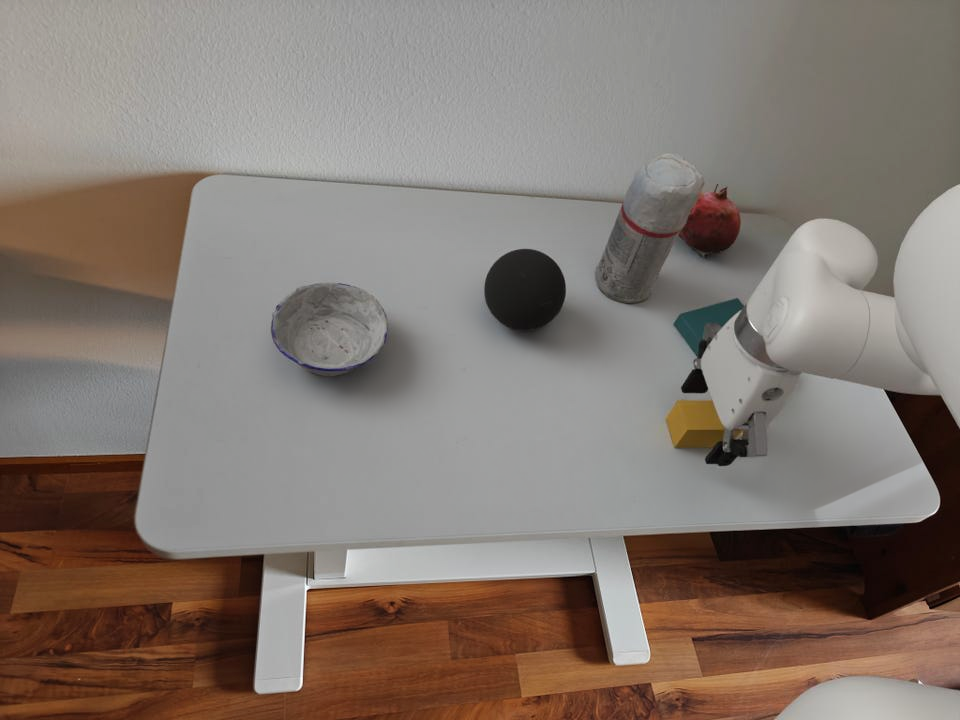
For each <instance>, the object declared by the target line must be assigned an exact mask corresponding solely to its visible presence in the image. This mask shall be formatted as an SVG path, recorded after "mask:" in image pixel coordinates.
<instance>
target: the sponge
mask: <svg viewBox="0 0 960 720" xmlns="http://www.w3.org/2000/svg"><path fill="white" fill-rule="evenodd" d="M665 422H666V425H667V428H668V432H669V436H670V439H671V442H672V445H673V448H674V449H676V448H677V449H679V448H680V449H682V448H685V449H686V448H688V449H689V448H690V449H691V448H713V447H714V446H715V445H716V443H717V442H719V441H723V437H724V429H725V427H724V425H723V424H722V423H721V421H720V419H719V416H718V414H717V411H716V408H715V406H714V403H713V400H712V399H711V400H701V399H700V400H699V399H698V400H688V399H687V400H686V399H685V400H683V399H681V400H677V401H676V402H675V404H674V405H673V406H672V408H671V410H670V412H669V413H668V414H667V416H666V418H665ZM742 433H743V430H735V434H734V439H738V437H739V436H740V434H742Z"/></svg>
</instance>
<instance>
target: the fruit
mask: <svg viewBox="0 0 960 720" xmlns="http://www.w3.org/2000/svg"><path fill="white" fill-rule="evenodd" d="M718 186H719V184H718V183H717V184H716V185H715V187H714V189H713V191H701V193H700V195H699V197H698V199H697V202H696V204H695V206H694V207H693V208H692V209H691V211H690V213H689V215H688V218H687V222H686V224H685V225H684V227H683V228H682V229H681V230H680V233H679V235H678V237H679V238H680V239H681V240H682V241H684V242H685V243H686V244H687V245H688V246H689V247H691V248H692V249H694V250H696V251H697V252H698V253H699V254H700V255H701V256H702V257H703V258H704V259H706V258H707V256H708V255H709V254H719V253H723V252H724V251H727V250H728V249H730V248H731V247H732V246H733V245H734V244H735V242H736V241H737V239H738V236H739V234H740V231H741V226H742V225H741V224H742V220H741V219H742V218H741V215H740V209H739V207H738V205H737V204H736V203H735V202H734V201H732V200H731V199H730V198H728V188H729V187H728V186H726V187H724V188H721V189H720V190H718V191H717V189H718Z"/></svg>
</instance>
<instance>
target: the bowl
mask: <svg viewBox="0 0 960 720" xmlns="http://www.w3.org/2000/svg"><path fill="white" fill-rule="evenodd" d="M271 316H272V318H271V319H272V320H271V325H270V333H271V338H272V341H273V344H274V345H275V347H276V348H277V350H278V351H279V352H280V353H281V354H282V355H284V356H285V357H286V358H287V359H289V360H290V361H292V362H293V363H295V364H297V365H299V366H300V367H302V368H303V369H305V370H307V371H309V372H311V373H313V374H316V375H318V376H324V377H335V376H336V377H337V376H341V375H345V374H347V373H350V372H351V371H354V370H355V369H356V368H358V367H360V366H362V365H365V364H366V363H368V362H370V361H371V360H372V359H373V358H375V357H377V356H378V354H379V353H380V351H381V350H382V349H383V347H384V346H385V345H386V342H387V337H388V333H389V322H388V317H387V314H386V311H385V310H384V308H383V306H382V305H381V304H380V302H379V300H377V299H376V297H375V296H373V295H372V294H370V293H369V292H367V291H366V290H364V289H362V288H359V287H358V286H354V285H351V284H346V283H341V282H321V283H313V284H309V285H301V286H299V287H298V288H296V290H294V291H292V292H290V293H289V294H288V295H286V297H285V298H283V299H282V300H281V302H279V304H277V305H276V307H275V310H274V311H273V312H272V313H271Z"/></svg>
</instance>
